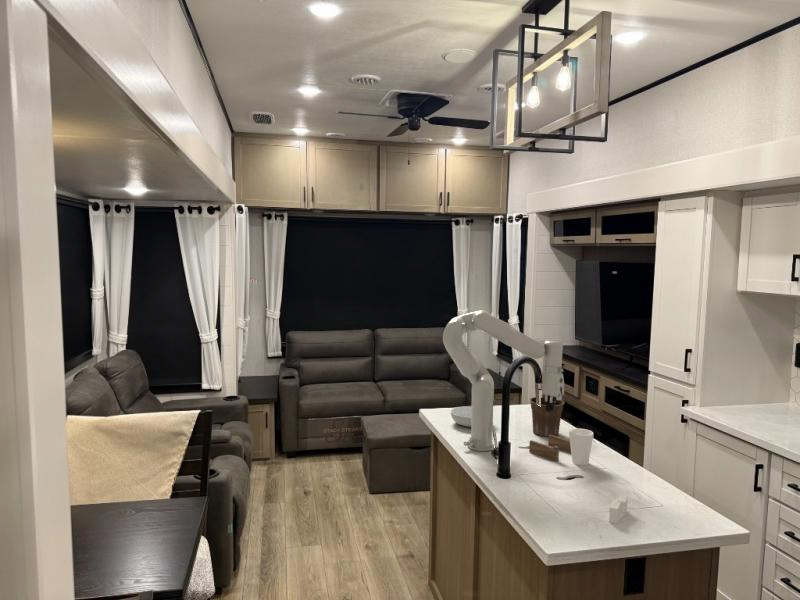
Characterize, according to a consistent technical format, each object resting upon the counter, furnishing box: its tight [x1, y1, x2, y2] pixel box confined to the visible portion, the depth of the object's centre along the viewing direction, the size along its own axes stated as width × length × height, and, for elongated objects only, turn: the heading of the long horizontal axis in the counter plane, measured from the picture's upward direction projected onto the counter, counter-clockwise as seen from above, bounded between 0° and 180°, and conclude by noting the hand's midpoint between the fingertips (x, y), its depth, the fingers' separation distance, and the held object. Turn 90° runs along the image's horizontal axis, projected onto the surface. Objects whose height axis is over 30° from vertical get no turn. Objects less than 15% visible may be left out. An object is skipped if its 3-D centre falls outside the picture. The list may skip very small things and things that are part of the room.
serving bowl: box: [450, 405, 472, 428], centre depth 273 cm, size 21×21×7 cm
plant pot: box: [529, 396, 565, 438], centre depth 259 cm, size 16×16×16 cm
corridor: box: [528, 435, 571, 463], centre depth 232 cm, size 15×14×6 cm
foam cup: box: [568, 428, 594, 467], centre depth 221 cm, size 10×9×13 cm
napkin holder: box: [608, 495, 628, 525], centre depth 173 cm, size 15×11×6 cm
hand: (549, 410), depth 233 cm, fingers closed
